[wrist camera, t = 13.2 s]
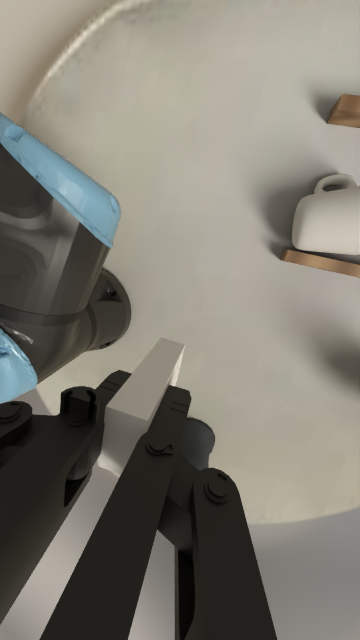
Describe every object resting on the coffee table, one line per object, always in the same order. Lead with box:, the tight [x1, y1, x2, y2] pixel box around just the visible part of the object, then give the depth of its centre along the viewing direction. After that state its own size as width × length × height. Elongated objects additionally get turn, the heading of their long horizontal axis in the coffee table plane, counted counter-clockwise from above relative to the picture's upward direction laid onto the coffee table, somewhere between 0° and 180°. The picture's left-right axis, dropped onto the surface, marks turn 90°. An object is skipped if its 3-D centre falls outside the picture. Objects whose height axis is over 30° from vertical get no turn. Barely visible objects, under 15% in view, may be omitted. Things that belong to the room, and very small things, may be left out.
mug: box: [180, 418, 215, 471], centre depth 43 cm, size 12×9×11 cm
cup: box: [292, 174, 360, 255], centre depth 30 cm, size 11×8×8 cm
